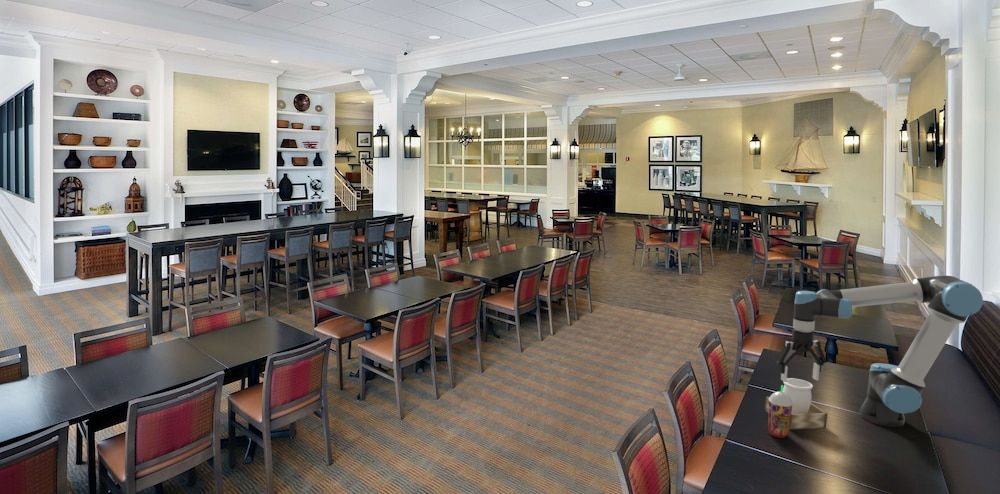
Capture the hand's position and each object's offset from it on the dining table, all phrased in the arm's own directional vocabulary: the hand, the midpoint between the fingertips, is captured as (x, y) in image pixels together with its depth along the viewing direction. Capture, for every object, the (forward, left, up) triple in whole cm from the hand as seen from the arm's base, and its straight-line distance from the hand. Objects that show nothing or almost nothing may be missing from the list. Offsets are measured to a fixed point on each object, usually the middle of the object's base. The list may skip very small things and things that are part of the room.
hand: (799, 380), depth 220 cm
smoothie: (+9, +17, -17) cm, 26 cm away
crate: (0, 0, -17) cm, 17 cm away
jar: (0, 0, -16) cm, 16 cm away
